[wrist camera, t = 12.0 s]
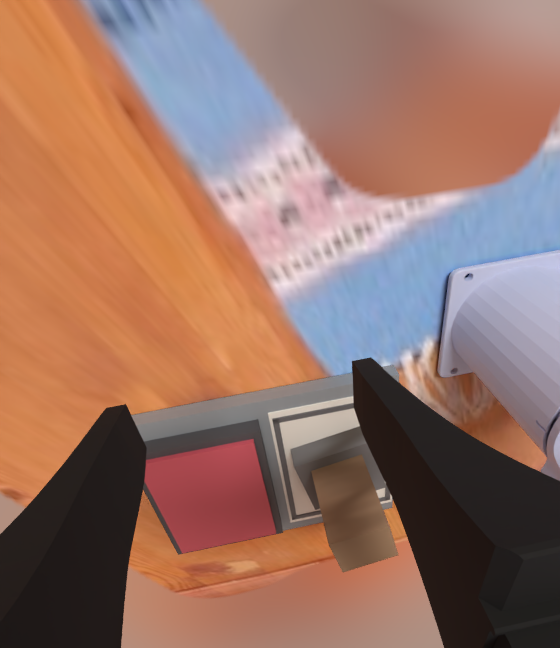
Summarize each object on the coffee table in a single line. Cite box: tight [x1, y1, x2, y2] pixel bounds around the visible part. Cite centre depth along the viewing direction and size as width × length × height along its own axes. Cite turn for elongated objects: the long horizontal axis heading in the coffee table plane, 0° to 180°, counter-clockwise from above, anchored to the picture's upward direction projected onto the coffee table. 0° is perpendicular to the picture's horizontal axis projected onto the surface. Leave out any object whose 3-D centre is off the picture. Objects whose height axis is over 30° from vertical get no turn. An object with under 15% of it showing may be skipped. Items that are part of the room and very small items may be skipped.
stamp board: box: [131, 365, 399, 555], centre depth 29 cm, size 18×15×2 cm
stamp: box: [290, 426, 398, 572], centre depth 26 cm, size 6×6×6 cm
